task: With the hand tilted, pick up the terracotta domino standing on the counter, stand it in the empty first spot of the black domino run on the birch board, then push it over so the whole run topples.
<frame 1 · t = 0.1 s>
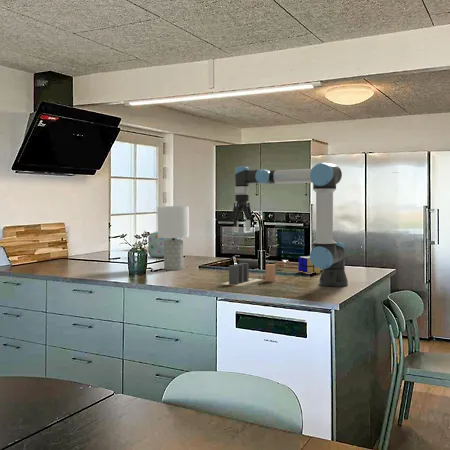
hand: (242, 231, 298), 28 cm above the table, tool pointing down, fingers open, 13 cm apart
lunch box: (165, 257, 419), on the table
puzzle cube: (309, 273, 329), on the table
black tile 1: (243, 281, 294), point 1 cm above the table, touching birch board
black tile 2: (239, 282, 290), point 1 cm above the table, touching birch board
terracotta tile: (270, 282, 294), on the table
black tile 3: (233, 284, 285), point 1 cm above the table, touching birch board
lamp: (173, 269, 350), on the table
birch board: (242, 282, 293), on the table
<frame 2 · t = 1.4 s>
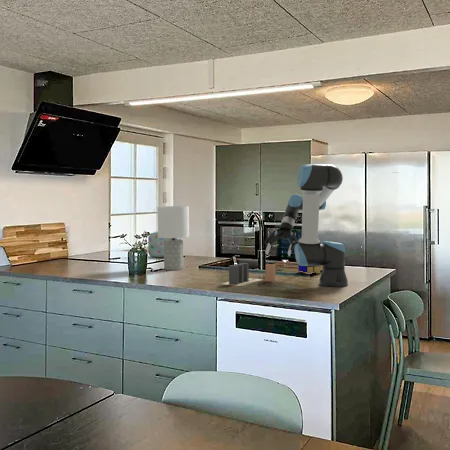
hand: (277, 254, 301), 15 cm above the table, tool tilted 45°, fingers open, 13 cm apart
nothing on the table moved.
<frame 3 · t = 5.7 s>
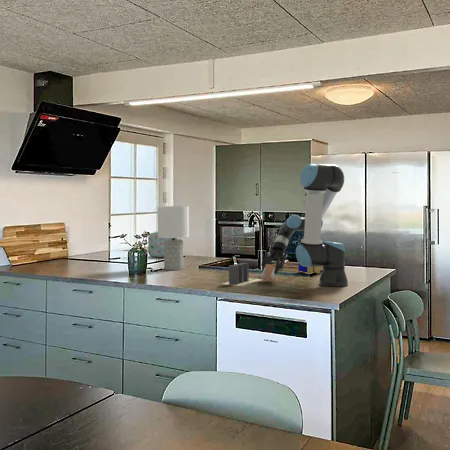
hand: (267, 277, 290), 3 cm above the table, tool tilted 45°, fingers closed on terracotta tile, 5 cm apart
terracotta tile: (270, 282, 294), on the table, touching gripper
everything else where it was.
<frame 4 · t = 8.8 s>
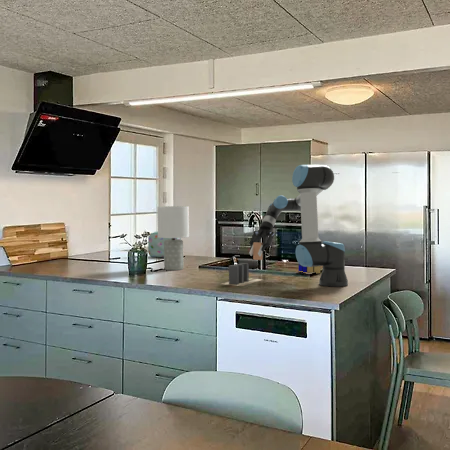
hand: (254, 254, 305), 14 cm above the table, tool tilted 45°, fingers closed on terracotta tile, 5 cm apart
terracotta tile: (257, 259, 309), point 11 cm above the table, touching gripper
everything else where it was.
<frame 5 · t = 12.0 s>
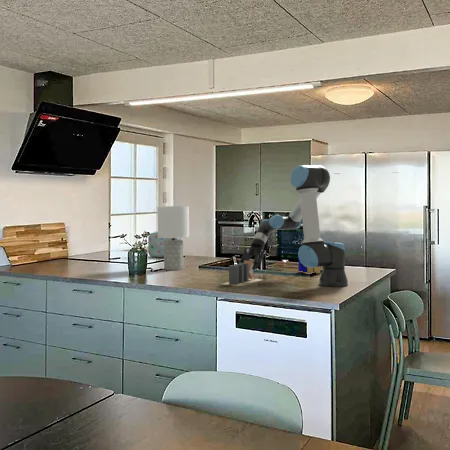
hand: (245, 273, 296), 5 cm above the table, tool tilted 45°, fingers closed on terracotta tile, 5 cm apart
black tile 1: (243, 281, 294), point 1 cm above the table, touching birch board, gripper
terracotta tile: (248, 278, 299), point 1 cm above the table, touching gripper
everything else where it was.
when the fingers open (5 cm above the table, at t = 12.4 s): terracotta tile stays where it is, resting on birch board.
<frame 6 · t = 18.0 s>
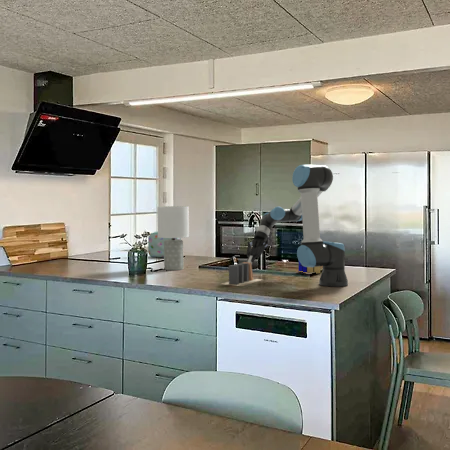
hand: (248, 266, 299), 8 cm above the table, tool tilted 45°, fingers closed
black tile 1: (243, 281, 294), point 1 cm above the table, touching birch board
terracotta tile: (248, 279, 299), point 1 cm above the table, tilted 15°, touching birch board
everything else where it was.
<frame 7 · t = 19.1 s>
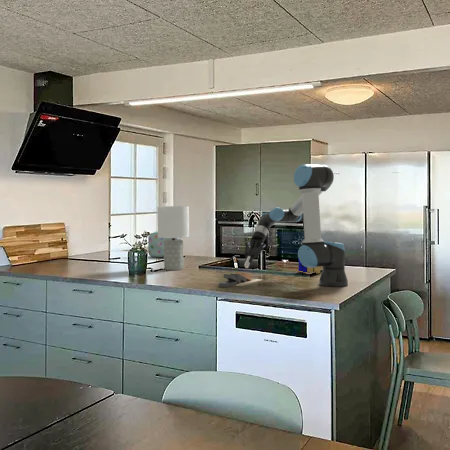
hand: (246, 266, 296), 9 cm above the table, tool tilted 45°, fingers closed
black tile 1: (242, 279, 293), point 2 cm above the table, tilted 68°, touching birch board, black tile 2, terracotta tile
black tile 2: (236, 280, 288), point 2 cm above the table, tilted 68°, touching black tile 1, black tile 3
terracotta tile: (247, 278, 298), point 2 cm above the table, tilted 69°, touching birch board, black tile 1
black tile 3: (232, 282, 284), point 2 cm above the table, tilted 90°, touching birch board, black tile 2
everything else where it was.
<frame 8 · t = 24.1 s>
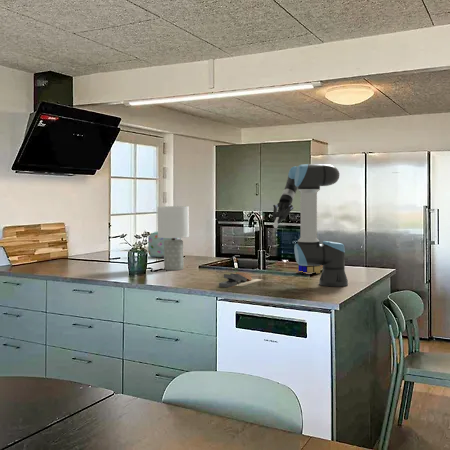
hand: (274, 226, 308), 30 cm above the table, tool tilted 45°, fingers closed
nothing on the table moved.
at the end: black tile 3 tilted 90°; terracotta tile inside the target area (1.1 cm from its centre), point 1.5 cm above the table; terracotta tile tilted 69° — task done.
